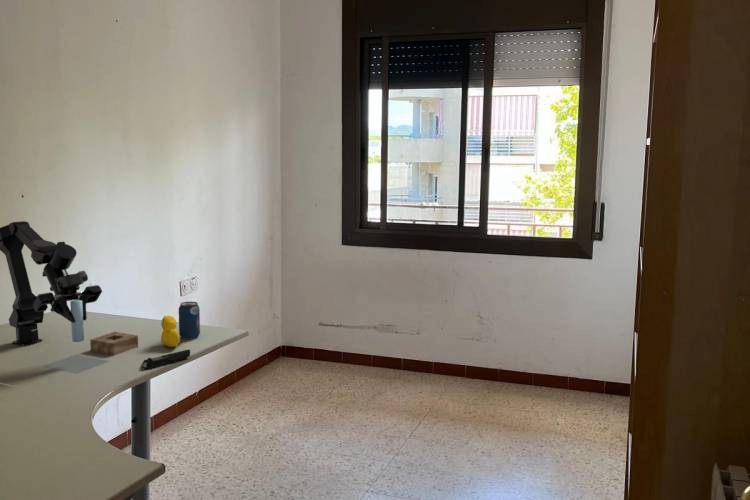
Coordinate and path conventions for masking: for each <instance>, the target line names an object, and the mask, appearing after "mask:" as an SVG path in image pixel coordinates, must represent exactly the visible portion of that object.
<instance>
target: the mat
mask: <svg viewBox="0 0 750 500" xmlns="http://www.w3.org/2000/svg"><path fill="white" fill-rule="evenodd" d="M109 362H110V360H104V359H100V358H95V357H91V356H84V355H79V354H73V355H70V356H67V357H65V358H62V359H59V360H56V361H52V362H50V363H47V364H44V365H42V367H43V368H49V369H54V370H58V371H63V372H68V373H72V374H79V373H80V374H81V373H82V372H85V371H87V370H91V369H93V368H95V367H99V366H101V365H104V364H107V363H109Z"/></svg>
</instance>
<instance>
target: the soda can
mask: <svg viewBox="0 0 750 500" xmlns="http://www.w3.org/2000/svg"><path fill="white" fill-rule="evenodd" d="M200 313H201V312H200V305H199V304H198V302H197V301H184V302H180V305H179V307H178V336H180V339H183V340H195V339H197V338H198V337H199V336H200V335H201V320H200V319H201V318H200V317H201V316H200V315H201V314H200ZM194 338H195V339H194Z"/></svg>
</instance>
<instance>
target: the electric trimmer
mask: <svg viewBox="0 0 750 500" xmlns="http://www.w3.org/2000/svg"><path fill="white" fill-rule="evenodd" d="M190 356H191V349H185V350H181V351H175V352H172V353H167V354H164V355H163V354H162V355H161V356H160V355H159V356H157V357H148V358H147V359H144V360H143V361H142V363H141V365H140V366H141V368H142V369H143V370H145V371H146V370H151V369H152V368H156V367H158V366H162V365H166V364H174V363H176V362H179V361H182V360H184V359H188V358H190Z"/></svg>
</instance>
